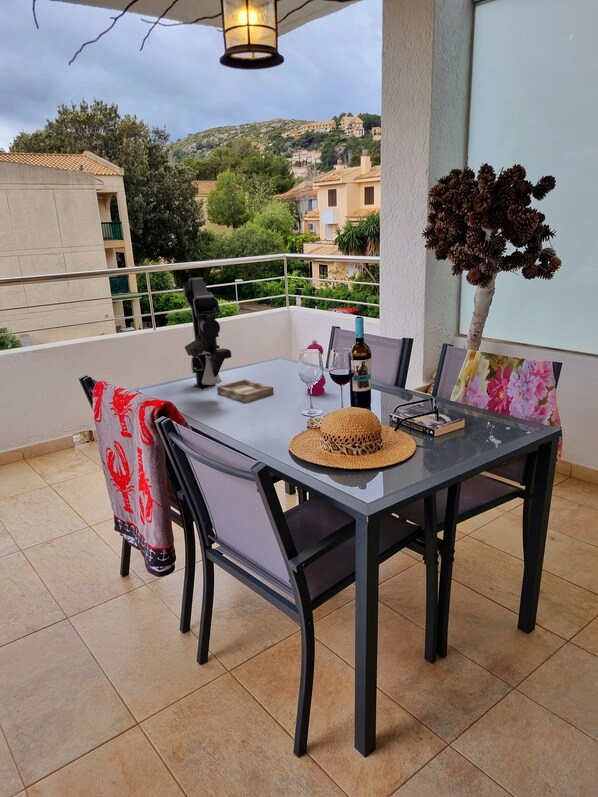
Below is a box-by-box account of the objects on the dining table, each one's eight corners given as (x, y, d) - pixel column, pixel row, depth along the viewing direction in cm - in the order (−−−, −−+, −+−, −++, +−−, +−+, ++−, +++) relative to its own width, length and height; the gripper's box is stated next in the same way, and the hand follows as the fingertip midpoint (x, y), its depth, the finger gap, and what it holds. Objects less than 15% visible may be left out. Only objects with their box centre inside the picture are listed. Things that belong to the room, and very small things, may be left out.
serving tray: (217, 393, 208) (217, 386, 207) (245, 386, 217) (244, 379, 216) (245, 403, 196) (245, 395, 195) (273, 394, 205) (273, 387, 204)
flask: (220, 385, 194) (218, 357, 191) (199, 385, 194) (197, 357, 191) (223, 379, 201) (221, 352, 198) (203, 380, 201) (201, 353, 198)
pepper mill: (302, 392, 206) (300, 339, 200) (319, 389, 209) (318, 336, 203) (312, 397, 200) (310, 342, 194) (329, 394, 203) (328, 340, 197)
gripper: (172, 331, 193) (177, 375, 198) (202, 338, 180) (207, 384, 185) (199, 327, 200) (203, 369, 205) (230, 333, 187) (234, 377, 192)
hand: (211, 375), depth 196 cm, fingers closed on flask, 5 cm apart
